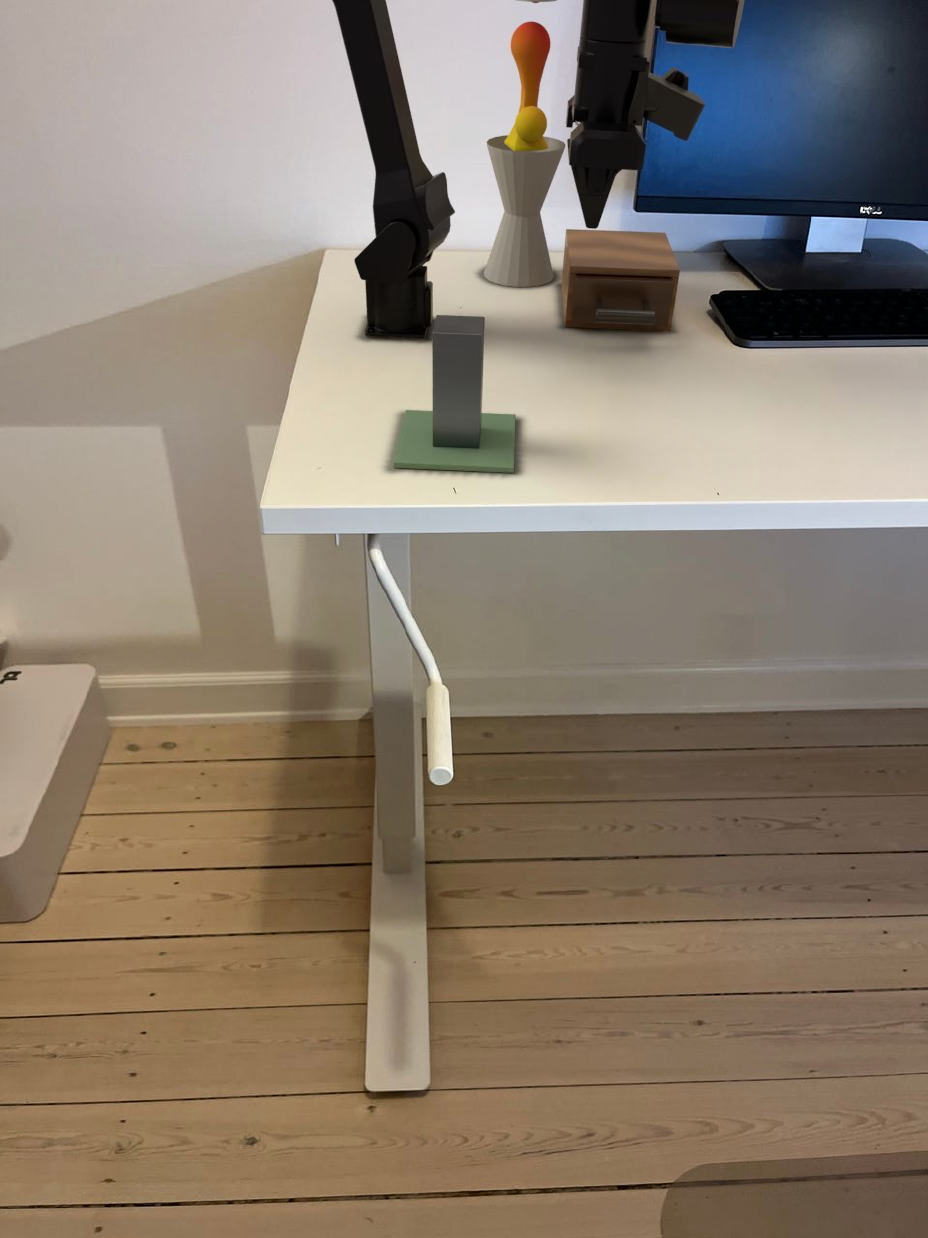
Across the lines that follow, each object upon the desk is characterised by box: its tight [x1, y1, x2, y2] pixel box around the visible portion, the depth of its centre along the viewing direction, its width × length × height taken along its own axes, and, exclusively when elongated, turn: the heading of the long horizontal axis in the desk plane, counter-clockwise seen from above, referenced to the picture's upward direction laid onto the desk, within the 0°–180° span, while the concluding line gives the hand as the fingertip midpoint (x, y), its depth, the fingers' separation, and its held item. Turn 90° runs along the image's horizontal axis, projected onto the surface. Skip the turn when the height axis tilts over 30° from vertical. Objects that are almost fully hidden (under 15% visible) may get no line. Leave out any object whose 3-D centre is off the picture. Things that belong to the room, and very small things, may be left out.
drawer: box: [571, 274, 674, 327], centre depth 105 cm, size 17×10×5 cm, turn 177°
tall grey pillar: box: [431, 314, 486, 448], centre depth 80 cm, size 4×4×10 cm
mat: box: [393, 409, 516, 474], centre depth 83 cm, size 10×10×1 cm
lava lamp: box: [483, 0, 566, 288], centre depth 108 cm, size 9×9×35 cm
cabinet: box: [561, 228, 681, 332], centre depth 109 cm, size 14×12×7 cm
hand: (591, 227), depth 92 cm, fingers closed
